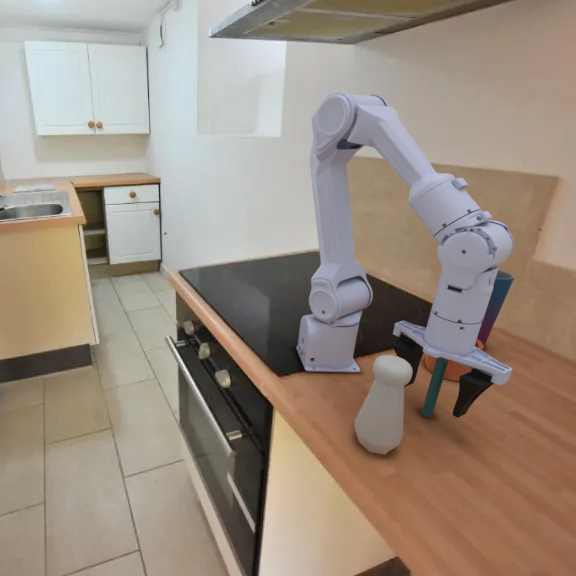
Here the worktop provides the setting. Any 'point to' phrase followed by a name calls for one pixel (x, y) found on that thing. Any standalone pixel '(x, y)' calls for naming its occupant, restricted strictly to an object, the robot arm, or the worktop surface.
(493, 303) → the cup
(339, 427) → the worktop surface
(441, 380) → the straw
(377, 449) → the salt shaker
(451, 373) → the orange round pot
